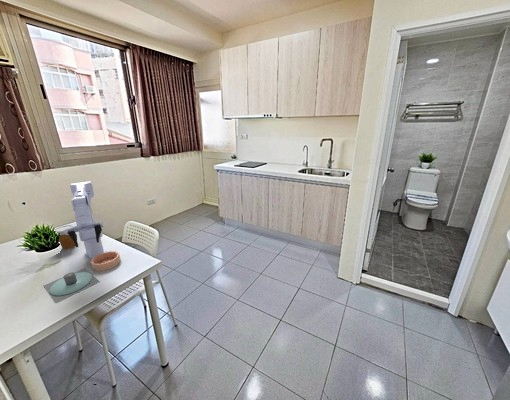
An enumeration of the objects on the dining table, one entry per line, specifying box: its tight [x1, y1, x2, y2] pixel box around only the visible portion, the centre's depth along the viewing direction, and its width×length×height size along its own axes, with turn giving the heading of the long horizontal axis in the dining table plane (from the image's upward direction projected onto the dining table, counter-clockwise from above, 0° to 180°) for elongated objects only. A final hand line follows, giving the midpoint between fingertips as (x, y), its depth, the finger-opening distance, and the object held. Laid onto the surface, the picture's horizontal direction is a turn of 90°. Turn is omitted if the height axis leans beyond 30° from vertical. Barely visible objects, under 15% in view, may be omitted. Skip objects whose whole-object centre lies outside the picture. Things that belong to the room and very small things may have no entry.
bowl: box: [90, 250, 121, 272], centre depth 115 cm, size 12×12×4 cm
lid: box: [50, 271, 93, 296], centre depth 100 cm, size 15×15×5 cm
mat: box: [43, 267, 101, 304], centre depth 101 cm, size 18×16×1 cm
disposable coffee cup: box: [54, 224, 76, 250], centre depth 131 cm, size 10×10×12 cm
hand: (87, 244), depth 101 cm, fingers open, 7 cm apart
